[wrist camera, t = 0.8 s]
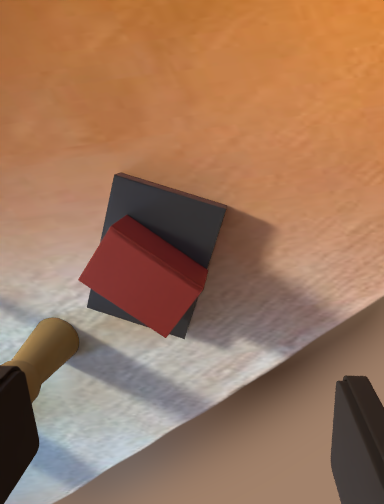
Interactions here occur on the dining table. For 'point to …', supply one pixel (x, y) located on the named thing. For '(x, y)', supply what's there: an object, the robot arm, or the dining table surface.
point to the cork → (45, 352)
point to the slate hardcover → (163, 229)
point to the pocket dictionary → (144, 275)
